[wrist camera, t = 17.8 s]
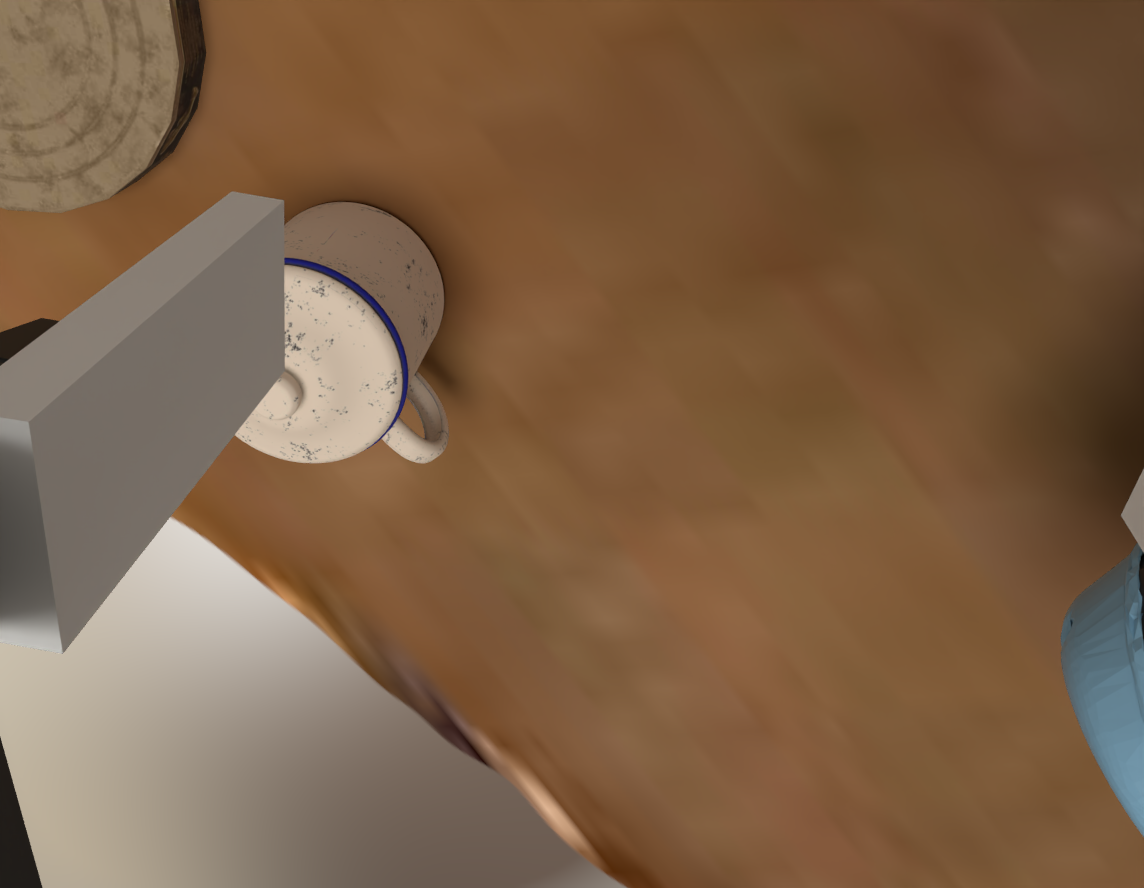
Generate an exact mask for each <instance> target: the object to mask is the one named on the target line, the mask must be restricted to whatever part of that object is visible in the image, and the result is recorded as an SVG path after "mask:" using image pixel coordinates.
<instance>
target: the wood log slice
mask: <svg viewBox="0 0 1144 888" xmlns="http://www.w3.org/2000/svg"><path fill="white" fill-rule="evenodd" d="M205 56H206V49H205V42H204V35H203V28H202V21H201V15H200V8H199V1H198V0H0V207H1V208H4V209H7V210H19V211H36V212H54V213H62V212H66V211H69V210H72V209H76V208H79V207H83V206H86V205H89V204H93V203H96V202H99V201H103V200H106V199H109V198H111V197H112V196H114V195H115V194H117V193H119V192H120V191H122V190H124V189H125V188H127V187H129V186H130V185H132V184H133V183H135V182H137V181H138V180H139V179H140V178H142V177H143V176H144V175H145V174H147V173H148V172H149V171H150V170H152V169H153V168H154V167H155V166H156V165H158V164H159V163H160V162H161V161H163V160H164V159H165V158H166V157H168V156H169V155H170V154H171V153H173V151H174V150H175V148H176V146H177V144H178V142H179V141H180V139H181V137H182V135H183V133H184V131H185V130H186V128H187V126H188V124H189V122H190V121H191V119H192V117H193V115H194V113H195V111H196V110H197V107H198V101H199V94H200V88H201V82H202V75H203V69H204V62H205Z"/></svg>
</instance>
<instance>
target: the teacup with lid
mask: <svg viewBox="0 0 1144 888" xmlns="http://www.w3.org/2000/svg"><path fill="white" fill-rule="evenodd" d="M284 296H285V371H284V372H283V374H282V375H281V376H280V377H279V379H278V380H277V381H276V383H275V384H274V385H273V386H272V388H271V389H270V390H269V392H268V393H267V394H266V395H265V397H264V398H263V399H262V400H261V402H260V403H259V404H258V406H257V407H256V408H255V409H254V411H253V412H252V413H251V414H250V416H249V417H248V418H247V420H246V421H245V422H244V423H243V425H242V426H241V427H240V428H239V430H238V431H237V432H236V434H235V436H236V437H238V438H239V439H241V440H242V441H243V442H245V443H247V444H248V445H250V446H252V447H253V448H255V449H257V450H259V451H261V452H264V453H266V454H268V455H271V456H274V457H277V458H280V459H284V460H288V461H294V462H301V463H326V462H333V461H338V460H342V459H345V458H349V457H351V456H353V455H356V454H358V453H360V452H362V451H364V450H366V449H368V448H369V447H371V446H372V445H374V444H375V443H377V442H378V441H379V440H380V439H381V438H382V439H383V440H384V441H385V442H386V443H387V444H388V445H389V446H390V447H391V448H392V449H393V450H394V451H395V452H397V453H398V454H399V455H401V456H402V457H404V458H406V459H408V460H410V461H413V462H417V463H427V462H430V461H432V460H434V459H435V458H436V457H438V456H439V455H440V454H441V453H442V452H443V451H444V450H445V448H446V446H447V443H448V437H449V428H448V421H447V417H446V414H445V411H444V408H443V406H442V404H441V402H440V400H439V398H438V396H437V395H436V393H435V392H434V390H433V389H432V387H431V386H430V385H429V384H428V382H427V381H426V380H425V379H424V378H423V377H422V376H421V375H420V373H419V372H418V371H417V369H418V367H419V365H420V364H421V362H422V360H423V358H424V356H425V354H426V352H427V351H428V349H429V347H430V345H431V343H432V341H433V339H434V338H435V336H436V334H437V332H438V329H439V327H440V324H441V320H442V316H443V310H444V290H443V283H442V279H441V275H440V272H439V270H438V267H437V265H436V262H435V260H434V258H433V257H432V255H431V253H430V251H429V250H428V248H427V247H426V246H425V244H424V243H423V242H422V240H421V239H420V238H419V237H418V236H417V235H416V234H415V233H414V232H413V231H412V230H411V229H410V228H409V227H408V226H406V225H405V224H404V223H403V222H401V221H400V220H398V219H397V218H395V217H393V216H392V215H390V214H388V213H386V212H384V211H382V210H380V209H377V208H374V207H371V206H368V205H364V204H359V203H352V202H332V203H325V204H321V205H317V206H315V207H312V208H309V209H307V210H305V211H303V212H301V213H299V214H298V215H296V216H295V217H293V218H292V219H291V220H290V221H289V222H287V223H286V224H285V225H284ZM406 397H407V398H408V399H409V401H410V402H411V403H412V404H413V406H414V407H415V409H416V410H417V412H418V414H419V416H420V418H421V421H422V424H423V428H424V433H425V439H424V438H422V437H420V436H419V435H417V434H416V433H415V432H414V431H412V430H411V429H410V428H409V427H408V426H407V425H406V424H405V423H404V422H403V421H402V420H401V419H400V418H399V415H400V413H401V411H402V408H403V406H404V403H405V399H406Z"/></svg>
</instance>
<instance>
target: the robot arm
mask: <svg viewBox="0 0 1144 888" xmlns="http://www.w3.org/2000/svg"><path fill="white" fill-rule="evenodd" d="M284 371H285V296H284V200H279V199H273V198H267V197H261V196H255V195H250V194H244V193H238V192H231V193H229V194H228V195H227V196H225V197H224V198H223V199H221V200H220V201H219V202H217V203H216V204H215V205H213V206H212V207H211V208H209V209H208V210H207V211H205V212H204V213H203V214H201V215H200V216H199V217H197V218H196V219H195V220H193V221H192V222H191V223H189V224H188V225H187V226H185V227H184V228H183V229H181V230H180V231H179V232H178V233H176V234H175V235H174V236H172V237H171V238H170V239H168V240H167V241H166V242H164V243H163V244H162V245H160V246H159V247H158V248H156V249H155V250H154V251H152V252H151V253H150V254H148V255H147V256H146V257H144V258H143V259H142V260H140V261H139V262H138V263H136V264H135V265H134V266H132V267H131V268H130V269H128V270H127V271H126V272H124V273H123V274H122V275H120V276H119V277H118V278H116V279H115V280H114V281H112V282H111V283H110V284H108V285H107V286H106V287H104V288H103V289H102V290H100V291H99V292H98V293H97V294H95V295H94V296H93V297H91V298H90V299H89V300H87V301H86V302H85V303H83V304H82V305H81V306H79V307H78V308H77V309H75V310H74V311H73V312H71V313H70V314H69V315H67V316H66V317H65V318H63V319H62V320H61V321H56V320H50V319H44V318H40V319H38V320H35V321H32V322H29V323H26V324H23V325H20V326H18V327H15V328H12V329H9V330H6V331H3V332H1V333H0V643H6V644H11V645H17V646H22V647H28V648H33V649H39V650H44V651H50V652H56V653H61V654H63V653H64V652H65V650H66V649H67V648H68V647H69V645H70V644H71V643H72V641H73V640H74V639H75V638H76V636H77V635H78V634H79V633H80V631H81V630H82V629H83V627H84V626H85V625H86V623H87V622H88V621H89V620H90V618H91V617H92V616H93V614H94V613H95V612H96V611H97V610H98V608H99V607H100V605H101V604H102V603H103V602H104V601H105V599H106V598H107V597H108V595H109V594H110V593H111V592H112V590H113V589H114V588H115V587H116V585H117V584H118V583H119V582H120V580H121V579H122V578H123V576H124V575H125V574H126V572H127V571H128V570H129V569H130V567H131V566H132V565H133V564H134V562H135V561H136V560H137V558H138V557H139V556H140V555H141V553H142V552H143V551H144V550H145V548H146V547H147V546H148V545H149V543H150V542H151V541H152V539H153V538H154V537H155V536H156V534H157V533H158V531H159V530H160V529H161V528H162V527H163V525H164V524H165V523H166V522H167V520H168V519H169V518H170V516H171V515H172V514H173V513H174V511H175V510H176V509H177V508H178V506H179V505H180V504H181V502H182V501H183V500H184V499H185V497H186V496H187V495H188V494H189V492H190V491H191V490H192V488H193V487H194V486H195V485H196V483H197V482H198V481H199V479H200V478H201V477H202V476H203V474H204V473H205V472H206V471H207V469H208V468H209V467H210V465H211V464H212V463H213V462H214V460H215V459H216V458H217V457H218V455H219V454H220V453H221V451H222V450H223V449H224V448H225V446H226V445H227V444H228V443H229V441H230V440H231V439H232V437H233V436H234V435H235V434H236V432H237V431H238V430H239V428H240V427H241V426H242V425H243V423H244V422H245V421H246V420H247V418H248V417H249V416H250V414H251V413H252V412H253V411H254V409H255V408H256V407H257V406H258V404H259V403H260V402H261V400H262V399H263V398H264V397H265V395H266V394H267V393H268V392H269V390H270V389H271V388H272V386H273V385H274V384H275V383H276V381H277V380H278V379H279V377H280V376H281V375H282V374H283V372H284ZM1121 516H1122V518H1123V520H1124V521H1125V523H1126V525H1127V526H1128V528H1129V529H1130V531H1131V533H1132V534H1133V536H1134V538H1135V539H1136V541H1137V542H1138V543H1137V544H1136V545H1135V547H1134V549H1133V550H1132V552H1131V554H1129V555H1128V556H1127V557H1126V558H1125V559H1123V560H1122V561H1121V562H1120V563H1119V564H1117V565H1116V566H1115V567H1114V568H1112V569H1111V570H1110V571H1108V572H1107V573H1106V574H1105V575H1103V576H1102V577H1101V578H1099V579H1098V580H1097V581H1096V582H1094V583H1093V584H1092V585H1090V586H1089V587H1088V588H1086V589H1085V590H1084V591H1083V592H1082V593H1081V594H1080V595H1079V596H1078V597H1077V598H1076V599H1075V600H1074V602H1073V603H1072V604H1071V606H1070V607H1069V609H1068V611H1067V613H1066V616H1065V618H1064V622H1063V627H1062V633H1061V645H1062V650H1061V664H1062V670H1063V675H1064V679H1065V684H1066V687H1067V691H1068V694H1069V697H1070V700H1071V703H1072V706H1073V709H1074V712H1075V714H1076V717H1077V719H1078V722H1079V724H1080V727H1081V729H1082V732H1083V734H1084V736H1085V738H1086V740H1087V743H1088V745H1089V747H1090V749H1091V751H1092V753H1093V755H1094V757H1095V759H1096V761H1097V763H1098V765H1099V766H1100V768H1101V770H1102V772H1103V774H1104V776H1105V777H1106V779H1107V781H1108V783H1109V785H1110V786H1111V788H1112V790H1113V791H1114V793H1115V795H1116V796H1117V798H1118V800H1119V801H1120V803H1121V804H1122V806H1123V808H1124V809H1125V811H1126V812H1127V814H1128V815H1129V817H1130V818H1131V820H1132V821H1133V823H1134V824H1135V826H1136V827H1137V828H1138V830H1139V831H1140V833H1141V834H1142V835H1143V837H1144V469H1143V471H1142V473H1141V475H1140V477H1139V479H1138V481H1137V483H1136V485H1135V487H1134V489H1133V492H1132V494H1131V496H1130V498H1129V500H1128V502H1127V504H1126V506H1125V508H1124V510H1123V512H1122V514H1121ZM0 888H42V885H41V881H40V878H39V874H38V870H37V867H36V863H35V860H34V856H33V852H32V849H31V845H30V842H29V838H28V835H27V831H26V828H25V824H24V820H23V817H22V813H21V810H20V806H19V803H18V799H17V795H16V792H15V788H14V784H13V781H12V778H11V774H10V770H9V767H8V763H7V759H6V756H5V752H4V749H3V746H2V741H1V738H0Z"/></svg>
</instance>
